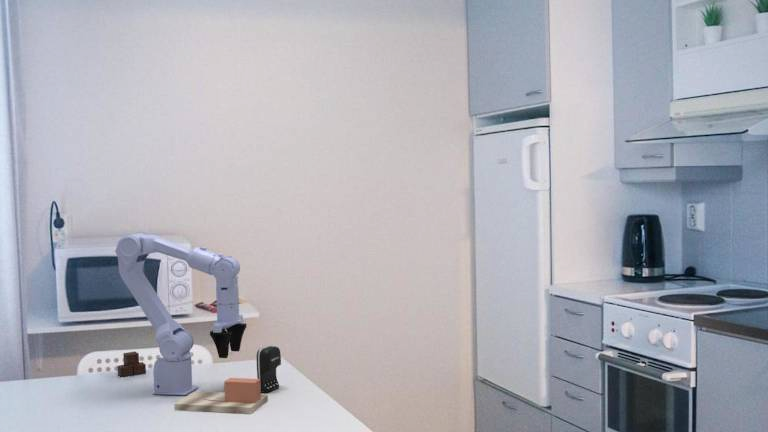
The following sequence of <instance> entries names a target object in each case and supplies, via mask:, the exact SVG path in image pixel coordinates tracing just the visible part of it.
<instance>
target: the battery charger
mask: <svg viewBox="0 0 768 432" xmlns="http://www.w3.org/2000/svg"><path fill="white" fill-rule="evenodd" d="M281 365H282V357H281V349H280V348H279V347H278V346H272V345H267V346H263V347H262V348H259V349H258V350H257V353H256V375H257V376H256V377H257V378H256V379H260V384H261V393H269V392H272V391H275V390H276V389H278V388H279V387H280V384H279V381H278V378H277V368H278V367H279V366H281Z"/></svg>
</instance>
